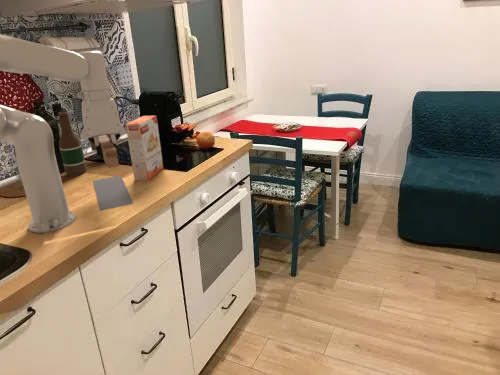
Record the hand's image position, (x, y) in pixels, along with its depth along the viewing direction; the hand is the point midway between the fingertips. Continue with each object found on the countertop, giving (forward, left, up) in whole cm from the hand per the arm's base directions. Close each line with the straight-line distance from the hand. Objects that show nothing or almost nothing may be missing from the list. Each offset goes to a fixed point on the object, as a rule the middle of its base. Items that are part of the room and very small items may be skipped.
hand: (107, 155), depth 127 cm
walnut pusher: (0, 0, 0) cm, 0 cm away
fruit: (+41, -43, -15) cm, 62 cm away
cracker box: (+19, -14, -15) cm, 28 cm away
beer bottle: (+37, +11, -15) cm, 42 cm away
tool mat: (+8, +1, -15) cm, 17 cm away
